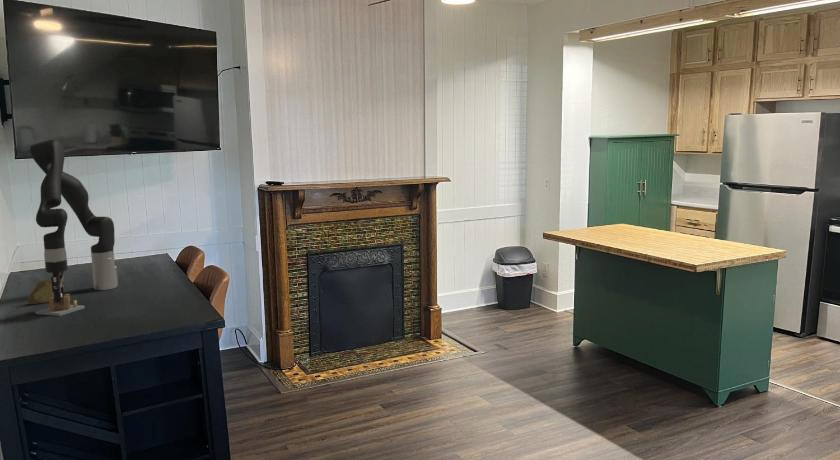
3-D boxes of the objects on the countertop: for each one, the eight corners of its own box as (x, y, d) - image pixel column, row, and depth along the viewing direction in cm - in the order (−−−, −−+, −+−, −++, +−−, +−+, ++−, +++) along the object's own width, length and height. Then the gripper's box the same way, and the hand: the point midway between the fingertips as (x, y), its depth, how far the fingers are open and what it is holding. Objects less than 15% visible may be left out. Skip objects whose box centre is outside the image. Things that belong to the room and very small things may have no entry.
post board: (61, 306, 256) (59, 289, 255) (84, 308, 253) (83, 291, 252) (35, 313, 245) (33, 296, 244) (59, 315, 242) (58, 298, 241)
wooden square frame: (52, 307, 251) (51, 295, 250) (70, 305, 253) (69, 293, 252) (50, 311, 245) (48, 298, 244) (68, 309, 247) (67, 297, 247)
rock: (22, 301, 257) (48, 296, 258) (23, 282, 260) (49, 278, 262) (34, 311, 266) (59, 306, 268) (35, 293, 270) (60, 288, 272)
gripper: (47, 257, 251) (51, 296, 253) (41, 263, 238) (45, 304, 240) (68, 255, 254) (72, 294, 256) (64, 261, 241) (68, 302, 243)
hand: (59, 299), depth 248 cm, fingers open, 8 cm apart
